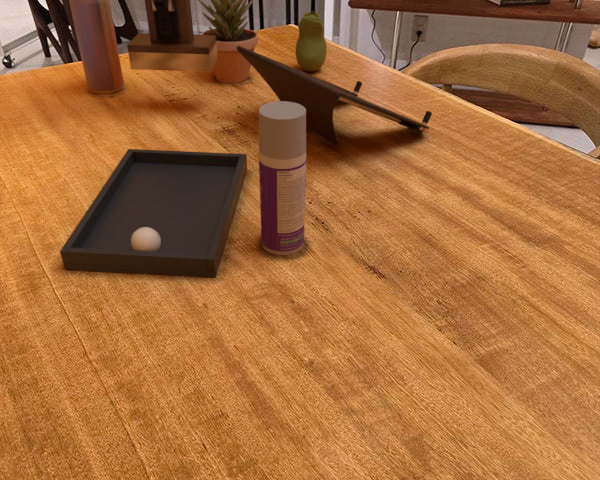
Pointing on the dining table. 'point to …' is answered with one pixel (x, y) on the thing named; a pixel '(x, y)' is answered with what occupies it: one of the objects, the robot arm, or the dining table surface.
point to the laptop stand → (319, 96)
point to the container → (282, 176)
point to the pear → (311, 42)
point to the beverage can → (97, 45)
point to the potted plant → (230, 39)
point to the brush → (173, 45)
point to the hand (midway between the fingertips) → (171, 35)
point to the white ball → (145, 240)
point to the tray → (160, 214)
